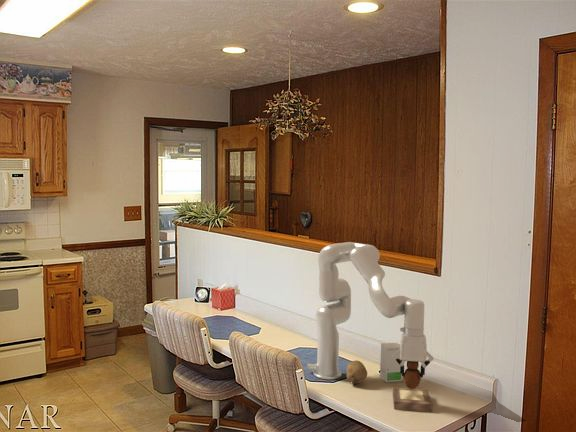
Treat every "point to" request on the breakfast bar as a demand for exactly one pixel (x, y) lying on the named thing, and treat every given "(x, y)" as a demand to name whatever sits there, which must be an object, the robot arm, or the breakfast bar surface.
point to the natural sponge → (356, 371)
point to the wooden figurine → (412, 375)
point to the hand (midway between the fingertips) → (412, 375)
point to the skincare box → (389, 363)
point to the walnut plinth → (412, 399)
